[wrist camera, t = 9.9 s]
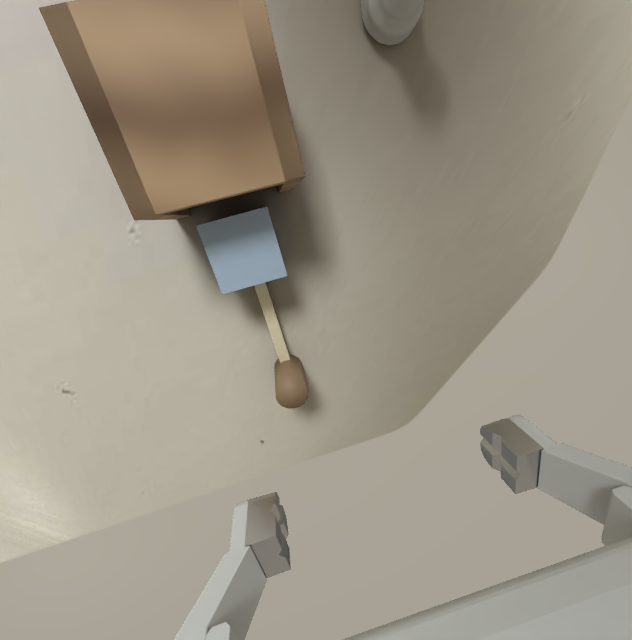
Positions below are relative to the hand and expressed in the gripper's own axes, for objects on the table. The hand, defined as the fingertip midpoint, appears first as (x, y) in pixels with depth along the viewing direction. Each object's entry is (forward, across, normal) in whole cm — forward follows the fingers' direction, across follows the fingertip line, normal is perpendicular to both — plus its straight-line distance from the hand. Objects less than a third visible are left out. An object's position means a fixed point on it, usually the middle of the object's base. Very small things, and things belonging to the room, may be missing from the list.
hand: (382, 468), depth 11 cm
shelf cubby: (+19, +4, -15) cm, 24 cm away
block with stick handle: (+19, +4, -2) cm, 19 cm away
